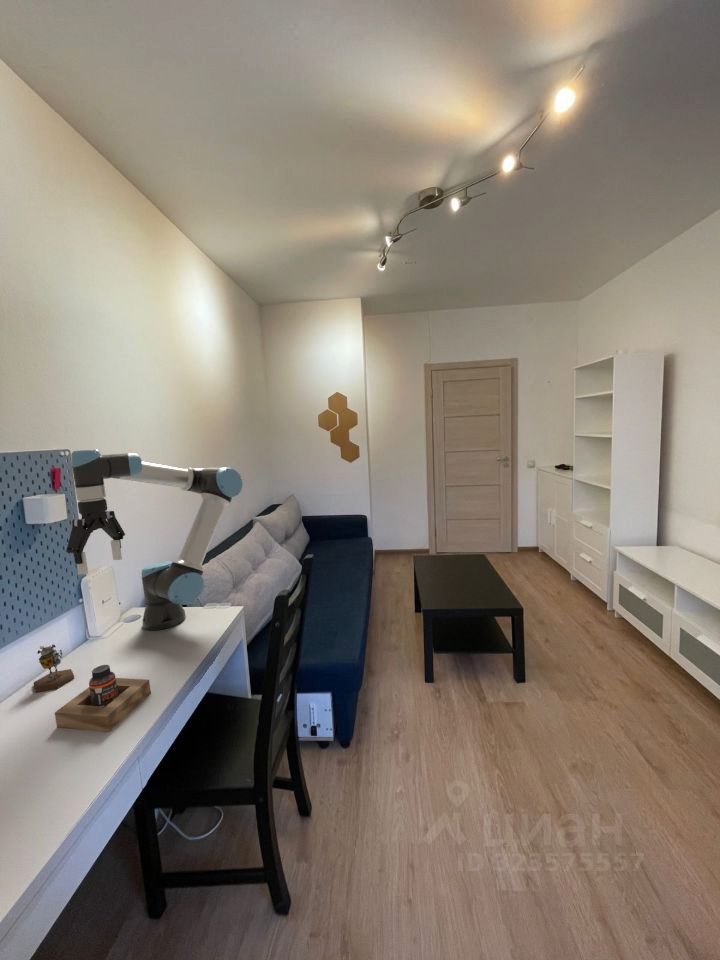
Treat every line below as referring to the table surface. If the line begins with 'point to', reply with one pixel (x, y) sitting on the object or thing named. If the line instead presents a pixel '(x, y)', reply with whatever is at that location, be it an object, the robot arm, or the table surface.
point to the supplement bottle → (102, 686)
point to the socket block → (103, 718)
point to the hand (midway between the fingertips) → (101, 566)
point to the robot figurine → (53, 678)
